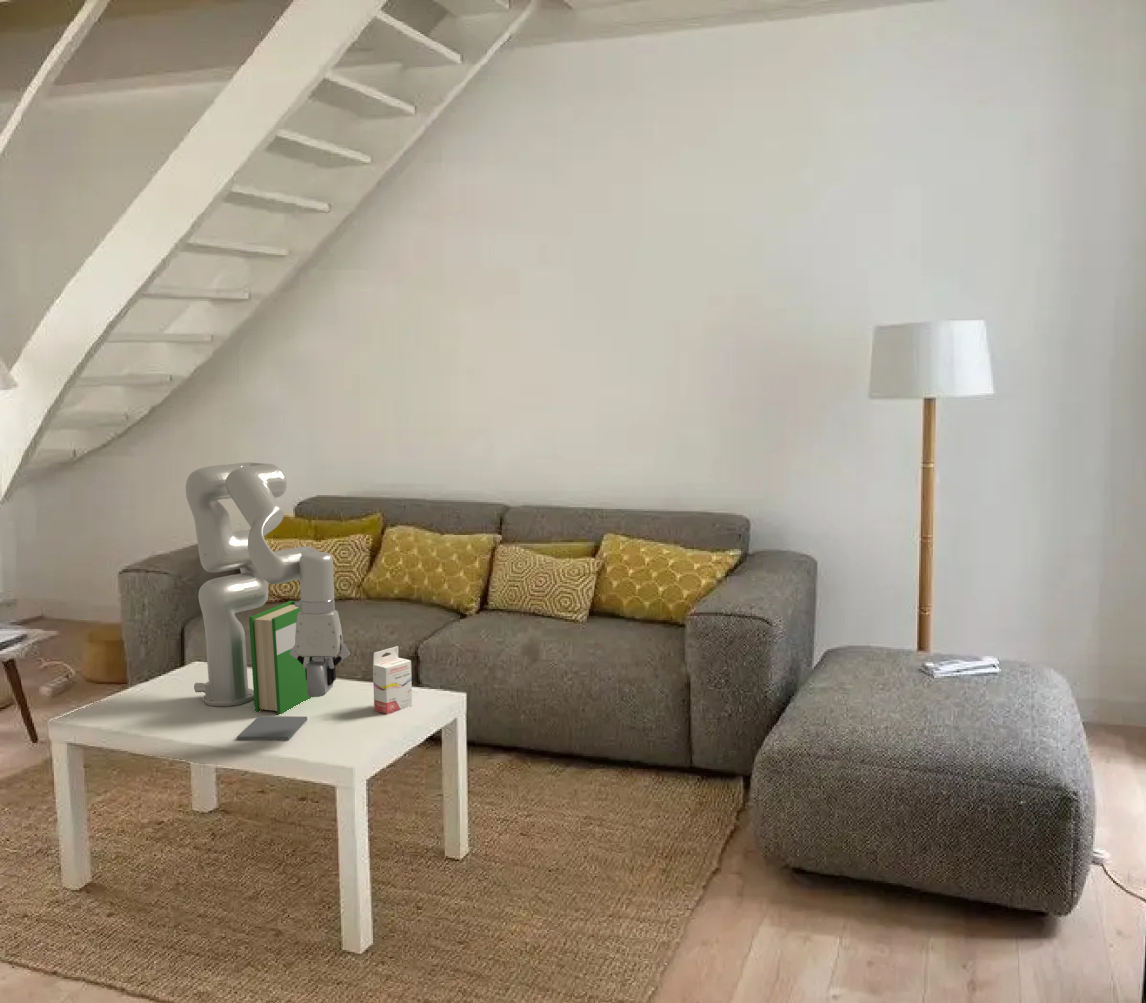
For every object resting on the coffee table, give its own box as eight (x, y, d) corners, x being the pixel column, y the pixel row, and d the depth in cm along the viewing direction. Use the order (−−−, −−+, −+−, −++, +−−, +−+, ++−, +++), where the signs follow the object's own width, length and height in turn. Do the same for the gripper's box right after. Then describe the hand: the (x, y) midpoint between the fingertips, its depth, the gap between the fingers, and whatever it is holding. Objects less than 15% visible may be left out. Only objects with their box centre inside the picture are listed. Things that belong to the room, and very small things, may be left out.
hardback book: (280, 714, 279) (274, 619, 275) (254, 712, 281) (248, 617, 278) (320, 693, 295) (315, 602, 292) (295, 690, 298) (290, 600, 294)
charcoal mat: (237, 739, 262) (237, 736, 262) (258, 719, 276) (258, 716, 276) (288, 740, 261) (288, 737, 261) (307, 719, 275) (307, 716, 275)
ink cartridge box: (387, 715, 277) (384, 656, 275) (373, 711, 281) (371, 652, 278) (413, 705, 284) (411, 648, 282) (400, 701, 287) (397, 645, 285)
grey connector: (305, 696, 259) (303, 658, 258) (318, 683, 269) (317, 646, 267) (322, 697, 258) (321, 658, 257) (335, 683, 268) (333, 646, 267)
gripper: (276, 609, 258) (280, 687, 261) (349, 611, 257) (352, 689, 260) (287, 601, 265) (290, 677, 268) (358, 602, 264) (360, 679, 267)
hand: (321, 682), depth 264 cm, fingers closed on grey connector, 4 cm apart
